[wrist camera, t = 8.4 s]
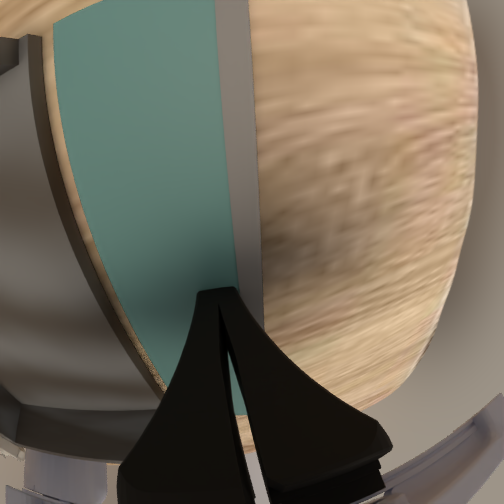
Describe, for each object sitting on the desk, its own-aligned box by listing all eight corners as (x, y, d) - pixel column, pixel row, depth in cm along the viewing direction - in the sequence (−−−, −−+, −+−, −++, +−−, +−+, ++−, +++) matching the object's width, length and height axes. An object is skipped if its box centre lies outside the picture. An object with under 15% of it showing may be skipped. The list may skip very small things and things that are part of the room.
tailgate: (186, 401, 17) (265, 401, 17) (185, 414, 16) (266, 414, 16) (71, 26, 5) (245, -18, 5) (52, 23, 4) (245, -31, 4)
